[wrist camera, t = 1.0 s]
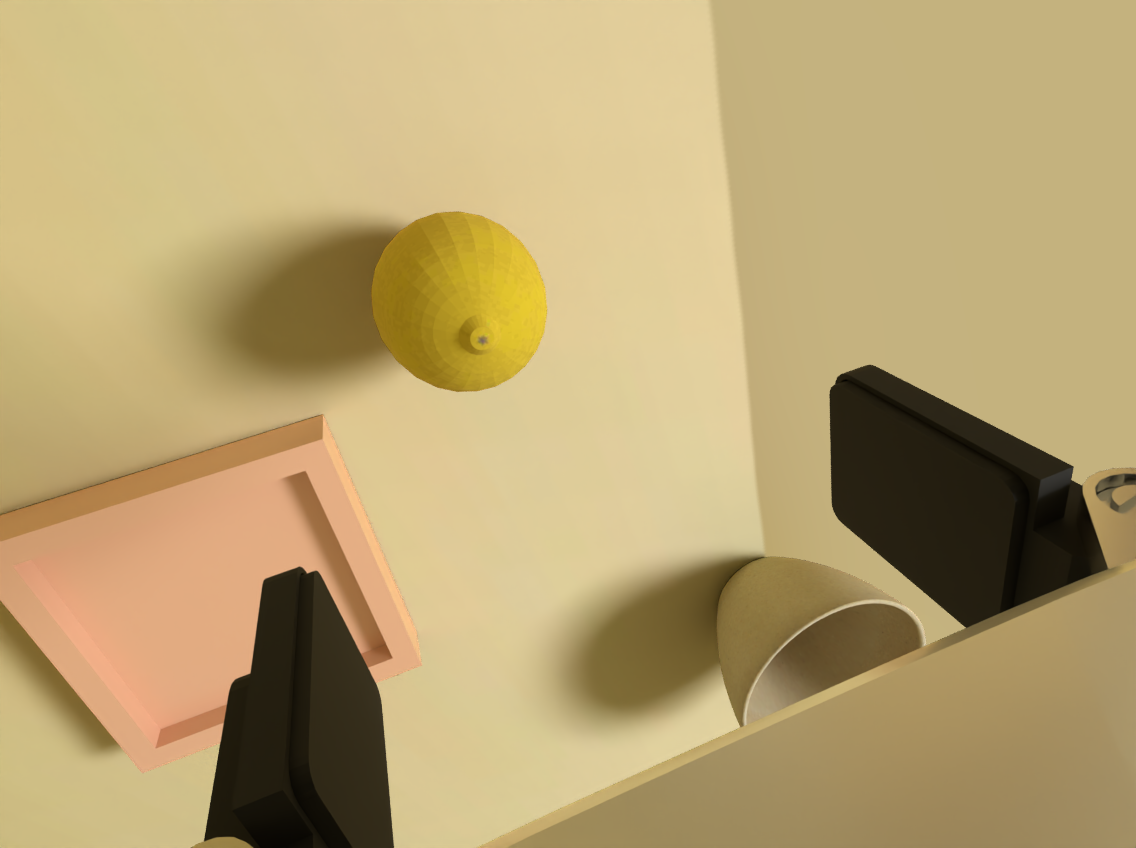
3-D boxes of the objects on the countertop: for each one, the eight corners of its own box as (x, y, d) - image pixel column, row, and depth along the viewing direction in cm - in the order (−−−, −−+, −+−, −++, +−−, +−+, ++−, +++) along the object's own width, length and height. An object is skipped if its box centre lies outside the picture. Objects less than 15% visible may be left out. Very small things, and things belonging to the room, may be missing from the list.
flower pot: (859, 521, 39) (960, 602, 32) (795, 659, 42) (874, 756, 36) (710, 511, 35) (792, 600, 29) (653, 663, 38) (715, 772, 32)
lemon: (340, 306, 25) (345, 387, 18) (406, 166, 24) (437, 197, 17) (473, 364, 28) (520, 455, 21) (539, 241, 26) (612, 295, 20)
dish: (-10, 518, 25) (-39, 554, 23) (323, 414, 27) (322, 439, 25) (153, 730, 30) (142, 773, 28) (416, 631, 32) (421, 665, 31)
